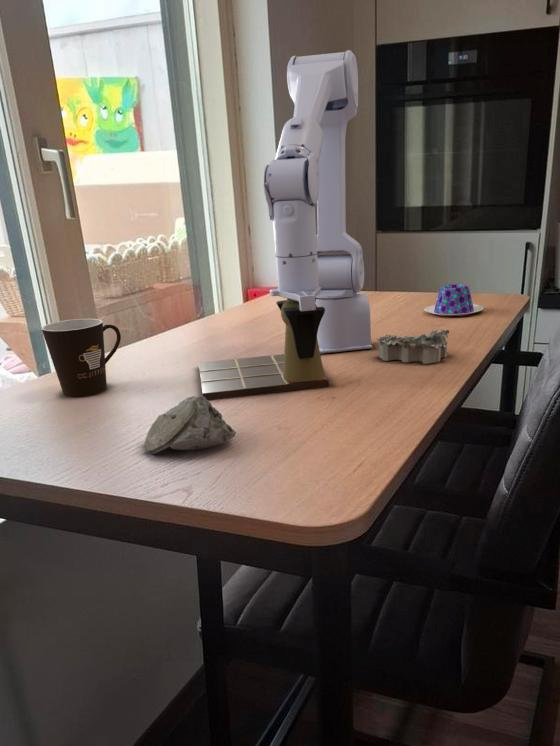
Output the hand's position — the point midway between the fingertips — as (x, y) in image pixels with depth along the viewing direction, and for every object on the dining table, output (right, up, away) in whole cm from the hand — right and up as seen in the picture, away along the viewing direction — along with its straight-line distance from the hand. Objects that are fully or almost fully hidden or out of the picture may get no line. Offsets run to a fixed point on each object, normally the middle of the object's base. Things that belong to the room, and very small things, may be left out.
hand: (302, 353), depth 101 cm
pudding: (+30, +16, +43) cm, 55 cm away
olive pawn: (0, -3, +1) cm, 4 cm away
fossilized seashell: (-13, -14, -18) cm, 27 cm away
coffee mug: (-32, -5, +6) cm, 33 cm away
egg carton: (+18, +1, +12) cm, 21 cm away
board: (-7, -2, +6) cm, 10 cm away
